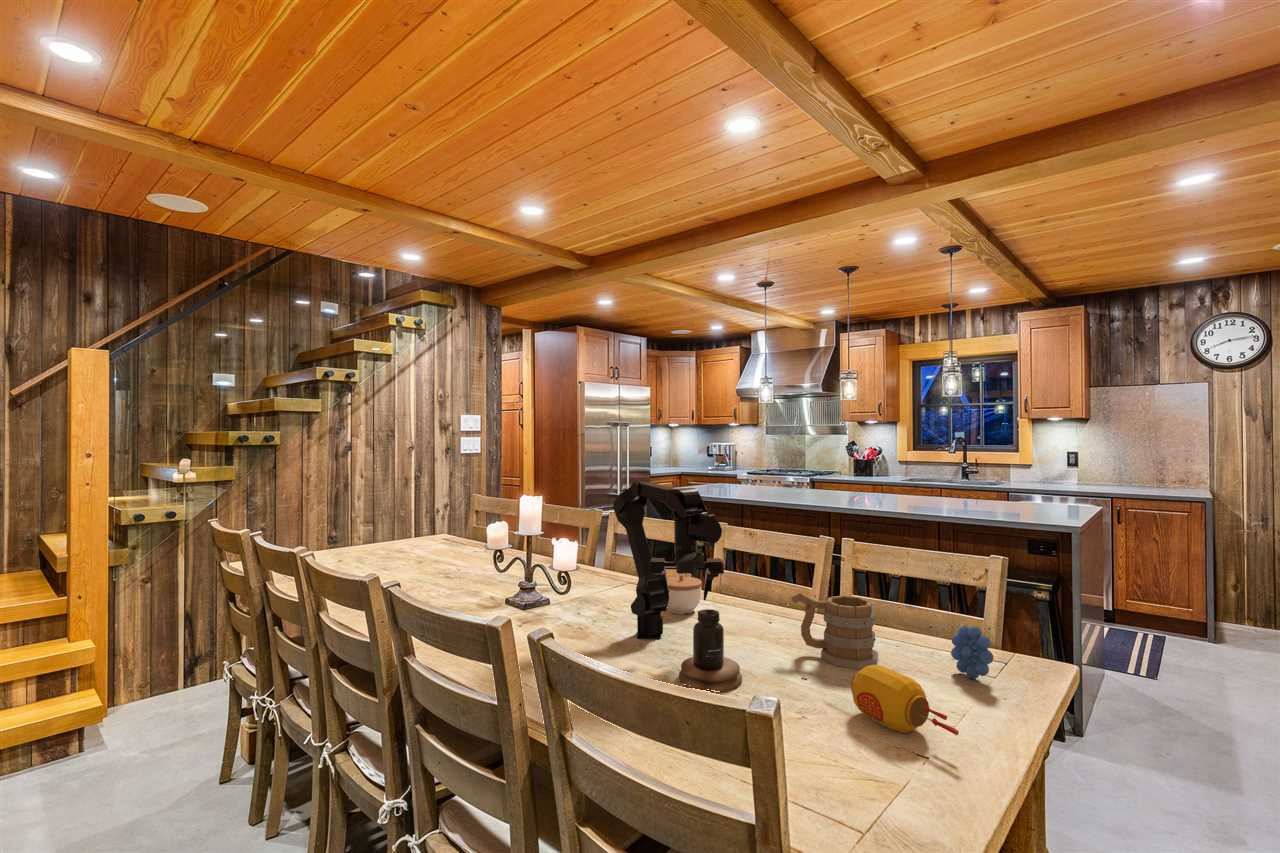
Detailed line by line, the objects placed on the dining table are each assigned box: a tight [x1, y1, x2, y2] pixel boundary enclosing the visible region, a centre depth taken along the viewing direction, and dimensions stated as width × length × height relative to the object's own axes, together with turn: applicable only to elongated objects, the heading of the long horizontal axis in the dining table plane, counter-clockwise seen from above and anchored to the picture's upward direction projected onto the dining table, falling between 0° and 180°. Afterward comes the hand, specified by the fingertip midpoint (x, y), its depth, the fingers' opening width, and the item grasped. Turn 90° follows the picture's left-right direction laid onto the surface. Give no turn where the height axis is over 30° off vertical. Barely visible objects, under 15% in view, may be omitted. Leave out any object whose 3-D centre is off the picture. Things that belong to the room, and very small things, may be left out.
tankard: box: [791, 592, 879, 670], centre depth 150 cm, size 20×13×15 cm, turn 65°
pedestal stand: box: [678, 656, 743, 694], centre depth 137 cm, size 14×14×3 cm
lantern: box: [829, 664, 960, 736], centre depth 116 cm, size 10×10×30 cm
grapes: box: [950, 625, 994, 680], centre depth 136 cm, size 12×7×12 cm, turn 13°
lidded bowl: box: [667, 574, 703, 615], centre depth 189 cm, size 13×13×11 cm
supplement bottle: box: [692, 608, 725, 671], centre depth 137 cm, size 7×7×12 cm
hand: (686, 599), depth 154 cm, fingers open, 9 cm apart
